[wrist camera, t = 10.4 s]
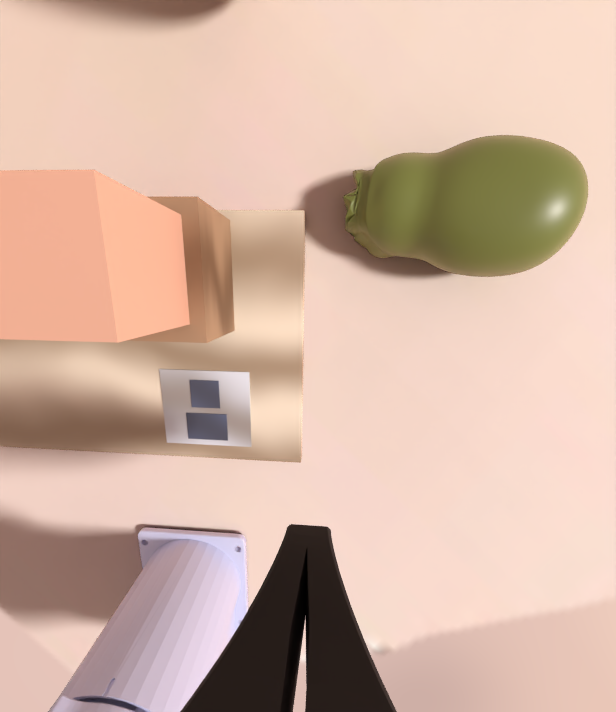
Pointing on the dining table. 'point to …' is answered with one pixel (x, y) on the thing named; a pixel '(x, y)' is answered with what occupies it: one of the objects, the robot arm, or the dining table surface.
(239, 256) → the build board
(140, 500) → the dining table surface
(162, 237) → the top block
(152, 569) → the robot arm
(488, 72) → the dining table surface
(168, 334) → the base block
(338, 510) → the dining table surface
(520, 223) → the pear
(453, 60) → the dining table surface
